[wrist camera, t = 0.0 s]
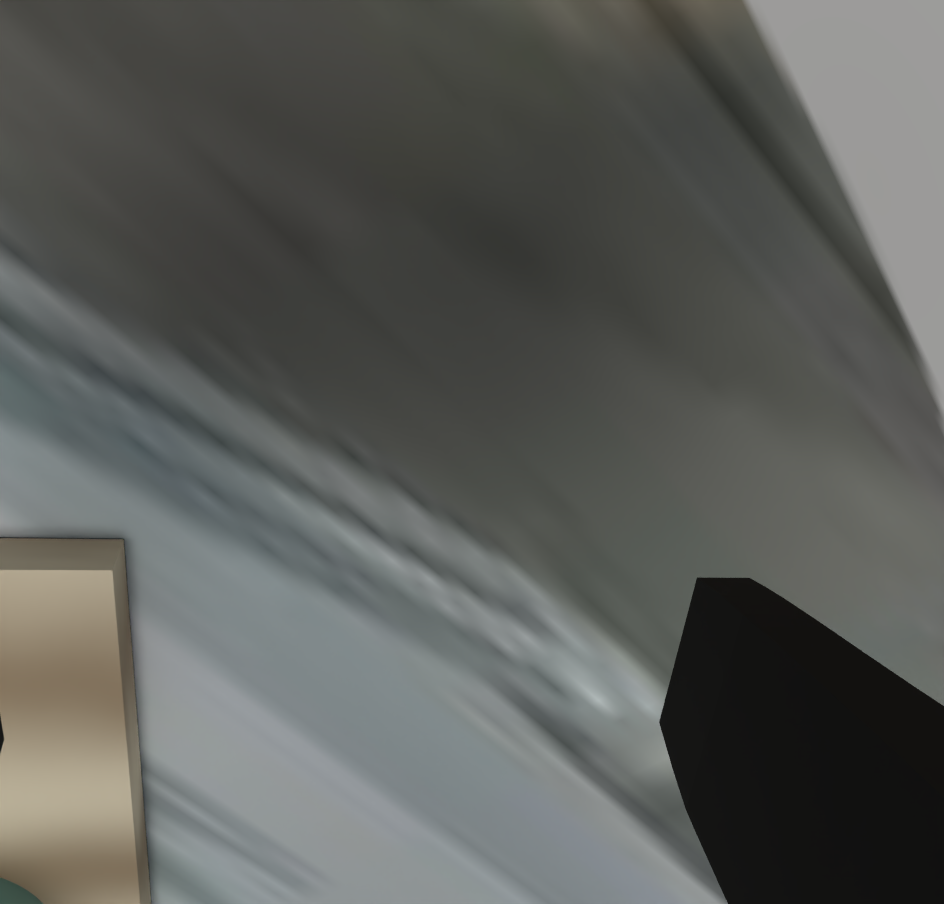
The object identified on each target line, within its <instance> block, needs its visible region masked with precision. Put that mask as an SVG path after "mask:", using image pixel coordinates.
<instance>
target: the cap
mask: <svg viewBox="0 0 944 904" xmlns="http://www.w3.org/2000/svg"><path fill="white" fill-rule="evenodd" d="M0 904H43V903H42V902H41V901H40V900H39V899H38V898H37V897H36V896H34V895H33V894H32V893H30V892H29V891H28V890H26V889H24V888H22V887H21V886H19V885H17V884H15V883H13V882H11V881H8V880H6V879H3V878H0Z"/></svg>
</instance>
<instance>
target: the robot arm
mask: <svg viewBox="0 0 944 904" xmlns="http://www.w3.org/2000/svg"><path fill="white" fill-rule="evenodd" d="M659 723H660V726H661V730H662V733H663V737H664V740H665V744H666V747H667V751H668V754H669V757H670V761H671V764H672V768H673V771H674V774H675V777H676V780H677V783H678V787H679V790H680V793H681V796H682V799H683V802H684V805H685V808H686V811H687V813H688V815H689V818H690V820H691V822H692V825H693V827H694V829H695V831H696V834H697V836H698V838H699V840H700V843H701V845H702V847H703V849H704V852H705V854H706V856H707V858H708V860H709V863H710V865H711V867H712V869H713V872H714V874H715V876H716V878H717V881H718V883H719V885H720V887H721V889H722V891H723V894H724V896H725V898H726V900H727V902H728V904H944V706H943V705H941V704H940V703H938V702H937V701H935V700H934V699H932V698H931V697H929V696H928V695H926V694H925V693H923V692H922V691H920V690H919V689H917V688H916V687H914V686H913V685H911V684H910V683H908V682H907V681H905V680H904V679H902V678H901V677H899V676H898V675H896V674H895V673H893V672H892V671H890V670H889V669H887V668H886V667H884V666H883V665H881V664H880V663H879V662H877V661H876V660H874V659H873V658H871V657H870V656H868V655H867V654H865V653H864V652H862V651H861V650H860V649H858V648H857V647H855V646H854V645H852V644H851V643H849V642H848V641H846V640H845V639H843V638H842V637H841V636H839V635H838V634H836V633H835V632H833V631H832V630H830V629H829V628H827V627H826V626H824V625H823V624H822V623H820V622H819V621H817V620H816V619H814V618H813V617H811V616H810V615H808V614H807V613H805V612H804V611H802V610H801V609H799V608H798V607H796V606H795V605H793V604H792V603H790V602H789V601H787V600H785V599H784V598H782V597H781V596H779V595H778V594H776V593H774V592H773V591H771V590H770V589H768V588H766V587H765V586H763V585H761V584H759V583H757V582H756V581H754V580H752V579H750V578H697V580H696V584H695V588H694V591H693V595H692V599H691V603H690V607H689V611H688V614H687V618H686V622H685V626H684V630H683V634H682V637H681V641H680V645H679V649H678V653H677V657H676V660H675V664H674V668H673V672H672V676H671V680H670V683H669V687H668V691H667V695H666V699H665V703H664V706H663V710H662V714H661V718H660V722H659ZM3 742H4V735H3V728H2V722H1V716H0V753H1V749H2V746H3Z"/></svg>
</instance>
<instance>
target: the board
mask: <svg viewBox="0 0 944 904" xmlns="http://www.w3.org/2000/svg"><path fill="white" fill-rule="evenodd" d="M0 716H1V722H2V728H3V735H4V742H3V746H2V749H1V753H0V878H3V879H6V880H8V881H11V882H13V883H15V884H17V885H19V886H21V887H22V888H24V889H26V890H28V891H29V892H30V893H32V894H33V895H34V896H36V897H37V898H38V899H39V900H40V901H41V902H42V903H43V904H151V895H150V881H149V868H148V855H147V842H146V828H145V815H144V802H143V789H142V775H141V762H140V749H139V736H138V723H137V709H136V696H135V683H134V670H133V656H132V643H131V630H130V617H129V603H128V590H127V577H126V564H125V551H124V539H36V538H0Z"/></svg>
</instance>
